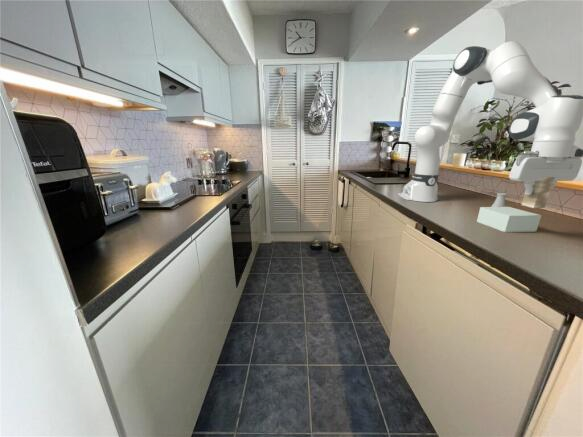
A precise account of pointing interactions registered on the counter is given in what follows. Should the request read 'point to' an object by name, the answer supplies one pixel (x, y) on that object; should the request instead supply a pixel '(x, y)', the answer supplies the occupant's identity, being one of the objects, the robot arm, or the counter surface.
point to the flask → (499, 200)
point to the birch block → (539, 193)
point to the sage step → (509, 219)
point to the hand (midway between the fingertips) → (536, 194)
